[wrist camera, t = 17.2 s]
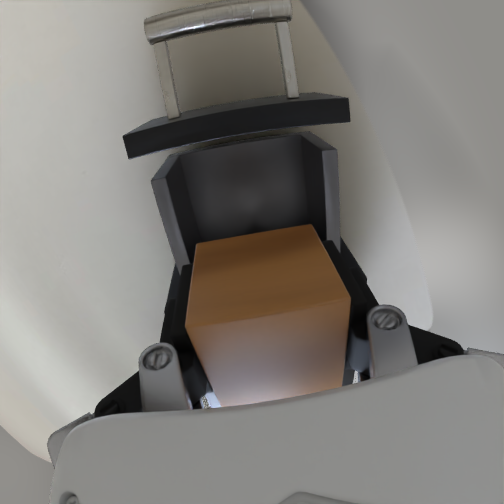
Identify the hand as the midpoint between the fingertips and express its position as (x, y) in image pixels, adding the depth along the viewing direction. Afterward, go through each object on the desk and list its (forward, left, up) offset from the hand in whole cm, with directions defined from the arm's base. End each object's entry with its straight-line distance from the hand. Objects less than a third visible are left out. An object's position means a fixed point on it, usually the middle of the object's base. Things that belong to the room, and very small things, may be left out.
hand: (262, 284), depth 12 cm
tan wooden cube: (0, 0, 0) cm, 0 cm away
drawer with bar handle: (-3, -2, -9) cm, 10 cm away
